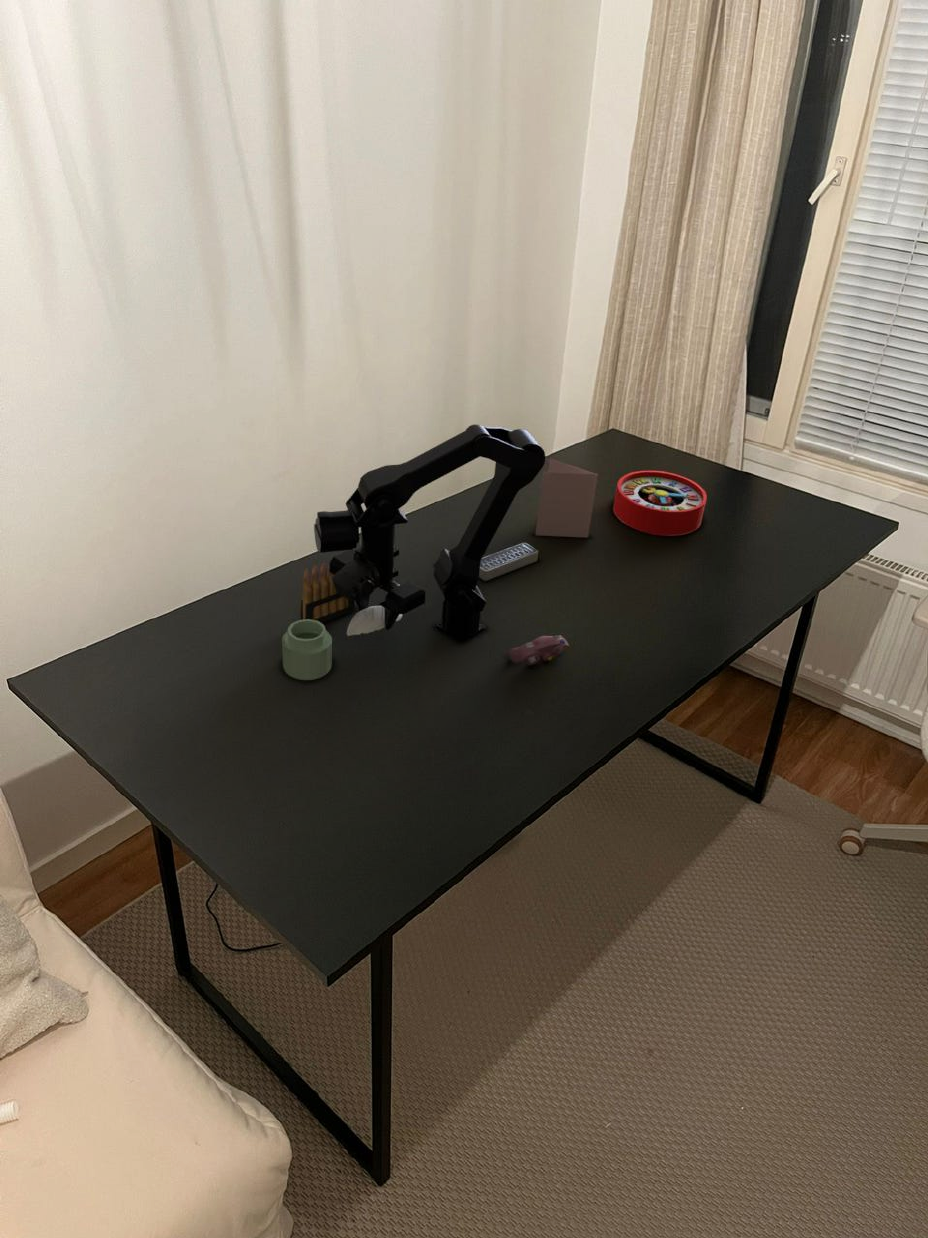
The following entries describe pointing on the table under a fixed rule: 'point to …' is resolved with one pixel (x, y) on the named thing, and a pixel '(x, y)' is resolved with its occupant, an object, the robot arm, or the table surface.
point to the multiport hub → (507, 561)
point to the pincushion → (368, 620)
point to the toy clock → (659, 503)
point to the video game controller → (539, 649)
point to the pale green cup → (307, 650)
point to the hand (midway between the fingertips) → (375, 620)
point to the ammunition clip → (322, 597)
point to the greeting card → (566, 501)
